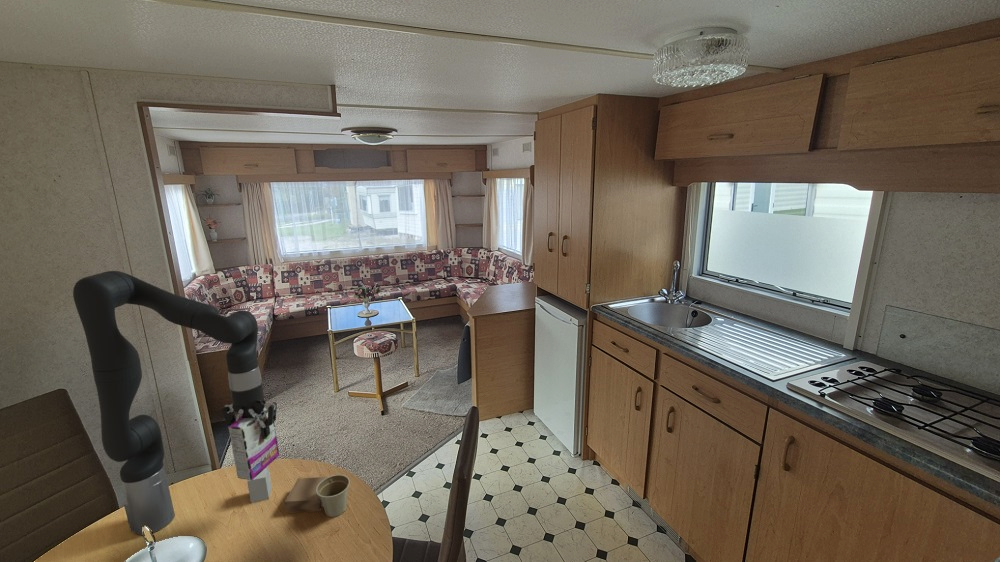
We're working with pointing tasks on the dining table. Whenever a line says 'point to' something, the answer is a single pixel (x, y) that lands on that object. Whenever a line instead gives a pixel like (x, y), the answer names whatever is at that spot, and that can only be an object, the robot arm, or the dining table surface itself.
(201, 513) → the dining table surface
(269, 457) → the candy bar box
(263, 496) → the grey block
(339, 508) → the flower pot
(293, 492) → the brown square block
